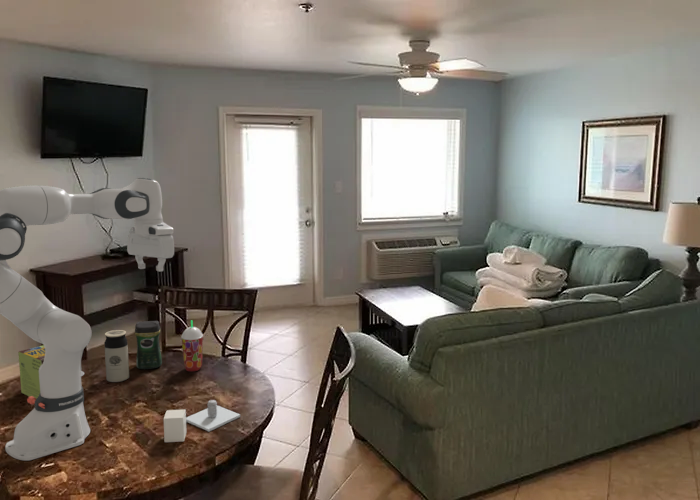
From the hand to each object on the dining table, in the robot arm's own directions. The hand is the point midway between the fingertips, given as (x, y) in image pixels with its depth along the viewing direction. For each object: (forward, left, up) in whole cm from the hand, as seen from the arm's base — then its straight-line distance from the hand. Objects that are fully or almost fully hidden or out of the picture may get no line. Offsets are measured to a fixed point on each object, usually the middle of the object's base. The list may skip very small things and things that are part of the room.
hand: (150, 270), depth 191 cm
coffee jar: (+19, +31, -47) cm, 59 cm away
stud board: (+4, -25, -46) cm, 53 cm away
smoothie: (+28, +15, -47) cm, 56 cm away
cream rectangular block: (-11, -26, -46) cm, 54 cm away
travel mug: (+4, +29, -47) cm, 55 cm away
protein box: (-19, +36, -47) cm, 62 cm away
